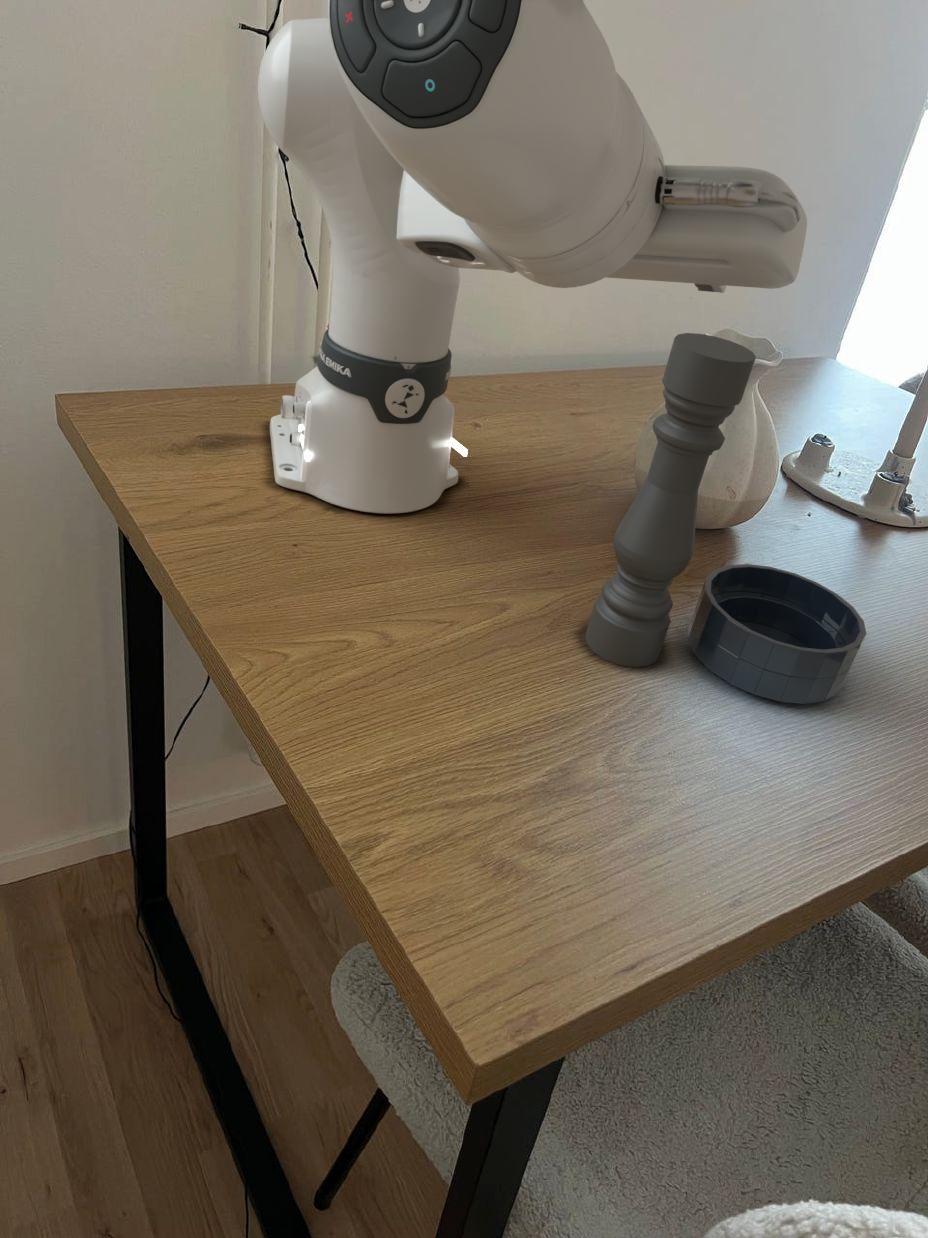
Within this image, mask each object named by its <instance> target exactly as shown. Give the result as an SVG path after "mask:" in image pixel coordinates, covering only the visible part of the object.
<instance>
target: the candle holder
mask: <svg viewBox="0 0 928 1238" xmlns="http://www.w3.org/2000/svg"><path fill="white" fill-rule="evenodd" d="M756 358H757V356H756V354H755V353H754V352H753V351H752V350H751V349H749V348H747V347H745V346H744V345H742V344H739V343H736V342H735V341H731V340H728V339H725V338H721V337H718V336H715V335H708V334H704V333H694V332H684V333H678V334H677V335H676V336H675V337H674V338H673V342H672V346H671V349H670V351H669V356H668V359H667V362H666V365H665V368H664V369H665V370H664V373H663V377H662V379H661V381H662V382H661V383H662V384H663V386H664V388H663V390H662V395H663V398H664V402H665V403H664V408H665V410H666V413H663V414H661V415H658V416H657V417H656V418H655V419H654V421H653V423H652V431H653V432H654V435H655V436H656V438H655V439H656V441H657V442H656V446H655V449H654V453H653V456H652V460H651V462H650V467H649V469H648V472H647V473H648V474H647V476H646V478H645V480H644V482H643V483H642V485H641V487H640V488H639V490H638V492H637V494H636V496H635V497H634V498H633V501H632V503H631V504H630V506H629V508H628V510H627V511H626V513H625V515H624V517H623V518H622V520H621V521H620V523H619V525H618V527H617V529H616V530H615V532H614V536H613V538H612V539H613V541H612V543H613V550H614V555H615V558H616V561H617V565H616V570H617V572H616V573H614V574H613V575H612V576H611V577H609V578H608V579H606V581H605V582H604V584H603V585H602V587H601V593H600V594H599V595H598V596H597V598H596V600H595V601H594V602H593V606H592V607H593V608H592V610H591V614H590V618H589V621H588V625H587V628H586V631H585V643H586V645H587V646H588V647H589V648H590V649H591V651H592V652H593V653H594V654H596V655H597V656H599V657H600V658H602V659H603V660H604V661H607V662H610V663H613V664H615V665H618V666H621V667H622V666H623V667H630V668H641V667H648V666H650V665H652V664H654V663H656V662H657V660H658V659H659V656H660V654H661V651H662V648H663V645H664V642H665V640H666V637H667V633H668V630H669V627H670V625H671V618H670V612H671V610H672V608H673V606H674V603H673V599H672V596H671V593H670V590H669V588H668V587H670V586H671V585H672V583H673V581H674V578H677V577H679V576H680V575H681V574H682V573H683V572H684V571H685V570H686V568H687V567H688V566H689V564H690V562H691V560H692V558H693V555H694V552H695V539H696V526H697V524H696V523H697V513H698V512H697V511H698V499H699V489H700V486H701V482H702V479H703V476H704V473H705V470H706V468H707V464H708V461H709V459H710V456H712V455H713V453H714V452H715V451H719V450H721V448H722V446H723V444H724V443H725V440H726V437H725V435H724V433H723V431H722V430H721V428H719V427H720V426H721V425H723V423H724V422H725V421H726V419H727V418H728V417H730V416H731V415H732V414H733V412H734V411H735V408H736V406H738V405H740V403H741V402H742V400H743V397H744V394H745V391H746V388H747V385H748V382H749V379H750V376H751V373H752V370H753V367H754V365H755V362H756Z"/></svg>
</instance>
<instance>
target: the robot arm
mask: <svg viewBox="0 0 928 1238" xmlns="http://www.w3.org/2000/svg"><path fill="white" fill-rule="evenodd" d="M257 78H258V80H257V97H258V105H259V109H260V114H261V117H262V120H263V123H264V125H265V127H266V130H267V131H268V133H269V136H270V137H271V138H272V140H273V142H274V143H275V145H276V146H277V147H278V149H279V150H280V151H281V152H282V153H283V154H284V155H285V156H286V157H287V158H288V159H289V160H290V161H291V162H292V163H293V164H294V166H296V168H297V169H298V170H299V171H300V172H301V174H302V175H303V177H304V178H305V180H306V181H307V182H308V184H309V185H310V187H311V189H312V191H313V192H314V194H315V197H316V198H317V200H318V203H319V205H320V206H321V209H322V213H323V215H324V218H325V221H326V224H327V229H328V233H329V238H330V245H331V261H332V262H331V264H332V266H331V268H332V269H331V270H332V271H331V272H332V273H331V299H330V310H329V311H330V313H329V322H328V324H327V325H326V328H327V329H326V330H325V331H324V333H323V337H322V340H321V341H320V343H319V348H318V356H317V359H316V366H315V367H314V368H313V369H311V370H310V371H309V372H308V373H306V374H304V375H302V377H300V378H299V379H297V381H296V383H295V389H294V395H288V394H284V395H282V396H281V399H280V414H277V415H274V416H272V417H271V418H270V422H269V436H270V446H271V454H272V455H271V457H272V465H273V474H274V482H275V483H276V485H278V486H281V487H283V488H286V489H289V490H294V491H299V492H301V493H306V494H309V495H311V496H313V497H316V498H318V499H320V500H322V501H324V502H326V503H329V504H331V505H335V506H337V507H340V508H344V509H349V510H353V511H357V512H358V511H359V512H364V513H372V514H405V513H412V512H416V511H419V510H423V509H425V508H428V507H430V506H432V505H434V504H435V503H436V502H437V501H439V499H440V498H441V496H442V494H443V492H444V491H445V490H446V489H449V488H451V487H453V486H455V485H456V484H458V482H459V471H458V470H457V469H456V468H455V467H454V466H452V464H450V461H451V452H452V450H451V449H452V448H453V449H454V450H455V451H457V452H458V454H460V455H461V456H463V457H468V451H469V449H467V448H466V447H465V446H463V444H461V443H460V442H458V440H456V439H455V438H454V437H453V432H454V421H455V405H454V404H453V403H452V402H451V400H450V399H449V398H448V397H447V396H446V394H445V393H446V391H447V390H448V384H449V379H450V376H451V373H452V351H451V349H450V348H449V347H450V341H451V336H452V329H453V325H454V324H453V323H454V317H455V312H456V307H457V301H458V294H459V288H460V282H461V273H460V269H470V270H471V269H472V270H489V271H501V272H505V273H509V274H514V273H515V272H516V273H518V274H520V275H521V276H523V277H524V278H526V279H528V280H529V281H531V282H533V283H537V284H538V285H542V286H545V287H550V288H557V289H558V288H560V289H568V288H577V287H584V286H587V285H591V284H594V283H596V282H599V281H601V280H603V279H606V278H607V279H609V278H610V279H622V280H636V281H652V282H653V281H654V282H668V283H680V284H681V283H683V284H694V286H695V288H696V289H697V290H698V292H699V291H700V292H709V293H719V294H720V293H722V294H723V293H725V291H726V289H727V286H728V287H743V288H756V289H757V288H759V289H770V290H772V289H773V290H774V289H775V290H776V289H781V288H784V287H787V286H789V285H791V284H793V283H794V282H795V281H796V280H797V277H798V274H799V271H800V267H801V261H802V257H803V252H804V247H805V242H806V235H807V229H808V228H807V227H808V217H807V214H806V212H805V210H804V207H803V205H802V204H801V202H800V201H799V199H798V197H797V195H796V194H795V193H794V191H793V190H792V189H791V187H790V185H788V184H787V182H785V181H784V180H783V179H782V178H781V177H779V176H778V175H776V174H775V173H772V172H770V171H767V170H763V169H759V168H754V167H745V166H724V165H720V166H719V165H716V166H715V165H676V164H675V165H674V164H672V165H671V164H665V159H664V155H663V152H662V149H661V147H660V144H659V142H658V139H657V138H656V136H655V134H654V132H653V130H652V128H651V126H650V125H649V122H648V120H647V119H646V117H645V115H644V113H643V112H642V109H641V108H640V107H641V106H640V104H639V103H638V101H637V100H636V98H635V96H634V93H633V91H632V90H631V88H630V87H629V85H628V84H627V82H626V80H624V79H623V77H622V76H621V74H619V73H618V72H617V69H616V66H615V62H614V59H613V56H612V53H611V51H610V48H609V45H608V43H607V41H606V39H605V37H604V35H603V33H602V32H601V29H600V28H599V26H598V24H597V22H596V21H595V19H594V18H593V16H592V14H591V13H590V11H589V9H588V7H587V6H586V3H585V1H584V0H327V17H315V18H314V17H313V18H300V19H291V20H289V21H287V23H285V24H284V25H282V27H281V28H280V29H279V30H278V31H277V32H276V33H275V34H274V36H273V37H272V38H271V40H270V41H269V44H268V45H267V47H266V49H265V51H264V54H263V56H262V60H261V62H260V66H259V71H258V77H257Z"/></svg>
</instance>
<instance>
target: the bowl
mask: <svg viewBox="0 0 928 1238" xmlns="http://www.w3.org/2000/svg"><path fill="white" fill-rule="evenodd" d="M702 585H703V586H702V588H701V591H700V595H699V597H698V600H697V603H696V606H695V608H694V610H693V614H692V617H691V620H690V623H689V625H688V631H687V642H688V644H689V646H690V648H691V649H692V652H693V655H695V657H696V658H697V659H698V660H699V661H700V662H701V663H702V664H703V665H704V667H706V668H707V669H708V670H709V671H711V672H712V673H714V674H715V675H717V676H718V677H719V678H721V679H722V680H724V681H725V682H727V683H729V684H730V685H732V686H734V687H736V688H737V689H740V690H742V691H744V692H747V693H749V694H752V695H754V696H758V697H760V698H764V699H768V700H771V701H777V702H781V703H791V704H801V705H806V704H813V703H820V702H825V701H827V700H829V699H831V698H833V697H834V696H836V695H838V694H839V693H840V692H841V689H842V687H843V686H844V683H845V681H846V679H847V677H848V675H849V672H850V671H851V668H852V666H853V665H854V662H855V659H856V658H857V656H858V653H859V651H860V649H861V647H862V645H863V643H864V640H865V638H866V636H867V630H866V624H865V620H864V619H863V618H862V617H861V615H860V614H859V612H858V611H857V610H856V609H855V607H854V606H853V605H852V604H850V603H849V602H848V601H847V600H846V599H844V598H843V597H842V596H841V595H839V594H838V593H836V592H835V591H833V590H832V589H830V588H828V587H826V586H824V585H822V584H820V583H819V582H817V581H815V580H813V579H810V578H808V577H805V576H803V575H800V574H798V573H795V572H793V571H788V570H784V569H781V568H776V567H772V566H769V565H768V566H767V565H760V564H750V563H742V564H741V563H740V564H728V565H724V566H722V567H719V568H717V569H714V570H712V572H710V574H709V575H708V576H707V577H706V578H705V580H704V583H703V584H702Z"/></svg>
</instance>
